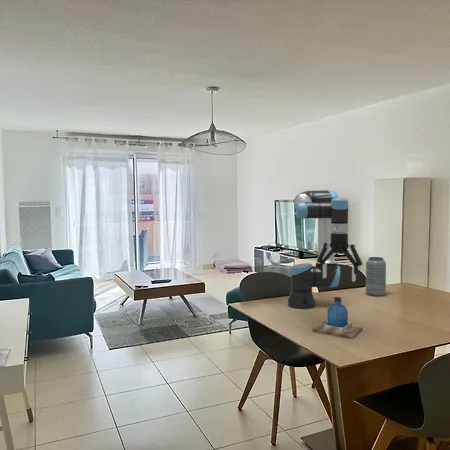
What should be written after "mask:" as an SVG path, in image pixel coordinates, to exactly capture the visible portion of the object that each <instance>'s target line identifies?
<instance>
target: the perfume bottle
mask: <svg viewBox="0 0 450 450" xmlns="http://www.w3.org/2000/svg"><path fill="white" fill-rule="evenodd" d="M348 318H349V312H348V309H347V308H346V306H345V305H344V304H342V297H340V296H334V297H333V304H332V303H331V304H330V306H329V307H328V309H327V322H328V324H331V325H333V326H336V327H340V326H345V325H348V323H349V321H348V320H349V319H348Z"/></svg>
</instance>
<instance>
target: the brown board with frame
mask: <svg viewBox="0 0 450 450" xmlns="http://www.w3.org/2000/svg"><path fill="white" fill-rule="evenodd" d="M311 330H312V331H311V332H313V333H318V334H323V335H328V336H333V337H334V336H335V337H340V338H344V339H349V340H350V339H351V340H353V339H355V338H356V336H358V335H359V334H360V333H362V331H363V327H360V326H355V325H353V323H352V322H348V325H345V326H340V327H336V326H333V325H331V324H328V321H326V320H325V321H323V322H321V323H320V324H318V325H317V326H315V327H313V328H312V329H311Z"/></svg>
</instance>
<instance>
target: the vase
mask: <svg viewBox="0 0 450 450" xmlns="http://www.w3.org/2000/svg"><path fill="white" fill-rule="evenodd" d="M386 286H387V262H386V260H384V257H380V256H370V257H368V259H367V260H366V261H365V292H366V293H367V294H368V296H371V297H382V296H384V294H386V293H387V287H386Z"/></svg>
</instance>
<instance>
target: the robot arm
mask: <svg viewBox="0 0 450 450" xmlns="http://www.w3.org/2000/svg"><path fill="white" fill-rule="evenodd" d="M293 204H294V207H295V211H296V212H295V213H296V218H297V219H302V220H304V219H317V245H318V246H317V247H318V248H317V250H318V253H317V254H318V258H317V260H316V262H315V265H313V263H309V262H304V263H297V264H294V265H292V266H291V269H290V293H289V297H288V300H287V306H288V307H290V308H293V309H301V310H302V309H303V310H305V309H313V308H315V307H316V300H315V297H314V294H313V288H328V289H329V288H337V287H338V285H339V284H340V279H341V266H339V265H338V262H337V261H336V260H335V254H343V255H345V257H346V258H347V259H348V261H349V262H350V263H351V264H352V267H351V282H356V277H357V274H358V273H359V267H360V266H362V265H363V262H362V259H361V257H360V255H359V254H358V251H357V249H356V244H355V243H352V244H349V207H350V206H349V199H347V198H339V197H338V193H337V192H336V191H335V190H327V189H326V190H325V189H324V190H306V191H303V192H300V193H298V194H297V195H296V196H295V197H294V200H293ZM348 249H349V250H350V251H351V253H352V254H351V253H350V251H349V250H348Z"/></svg>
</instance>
